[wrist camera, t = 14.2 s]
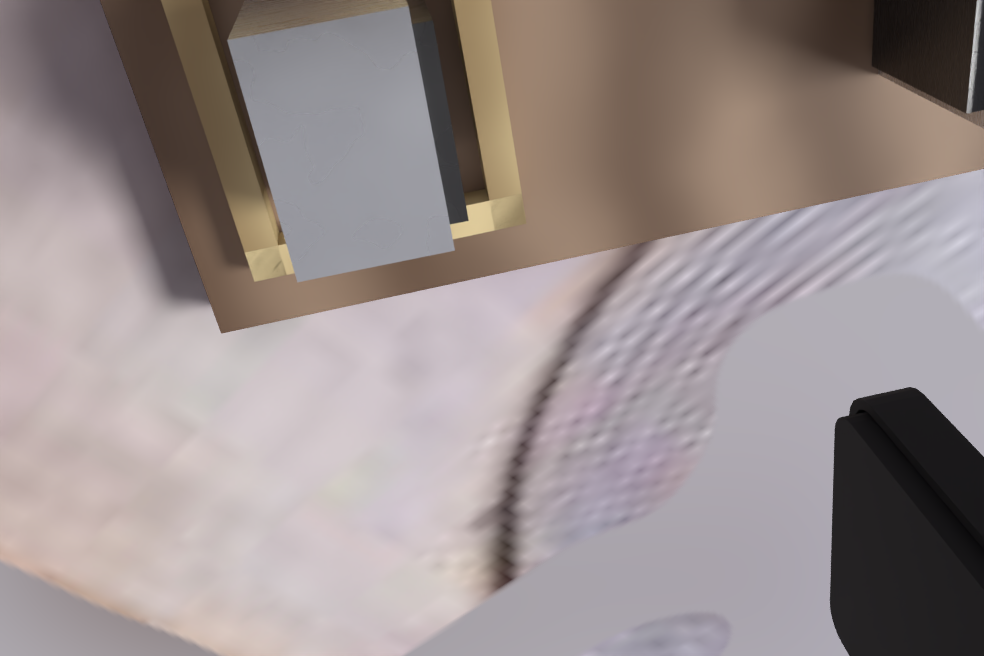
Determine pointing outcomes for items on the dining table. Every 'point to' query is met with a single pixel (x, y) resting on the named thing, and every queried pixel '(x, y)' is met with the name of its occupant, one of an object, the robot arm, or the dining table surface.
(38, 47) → the dining table surface
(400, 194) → the grey thick square block
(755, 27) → the brown flat board
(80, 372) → the dining table surface
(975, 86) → the grey square block
